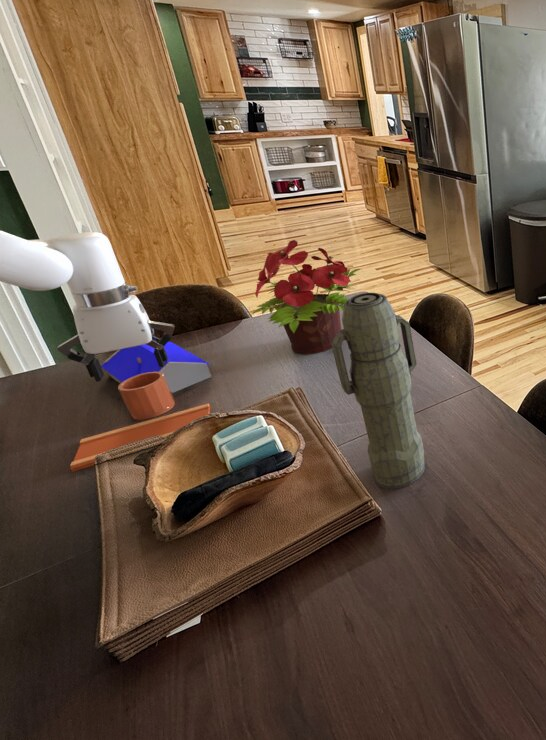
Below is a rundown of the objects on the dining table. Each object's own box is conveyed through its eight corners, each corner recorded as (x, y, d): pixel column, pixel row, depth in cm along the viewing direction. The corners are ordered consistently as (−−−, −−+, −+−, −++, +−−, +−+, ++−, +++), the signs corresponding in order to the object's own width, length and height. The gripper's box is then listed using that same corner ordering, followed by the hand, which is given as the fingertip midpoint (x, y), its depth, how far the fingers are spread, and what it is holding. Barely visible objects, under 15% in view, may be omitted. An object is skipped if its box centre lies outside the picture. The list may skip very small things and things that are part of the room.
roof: (105, 377, 115) (93, 351, 112) (174, 352, 126) (165, 327, 123) (143, 405, 105) (130, 377, 102) (215, 375, 116) (205, 349, 113)
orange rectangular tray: (71, 472, 87) (69, 467, 86) (84, 442, 94) (81, 437, 94) (209, 430, 97) (207, 425, 97) (210, 406, 105) (208, 402, 104)
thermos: (442, 463, 89) (415, 293, 76) (383, 503, 80) (341, 319, 67) (415, 443, 94) (385, 280, 80) (357, 478, 85) (312, 303, 72)
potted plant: (274, 331, 137) (244, 231, 126) (375, 315, 147) (356, 222, 136) (250, 385, 112) (210, 266, 101) (374, 362, 122) (351, 252, 111)
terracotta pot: (129, 424, 99) (115, 394, 96) (134, 407, 104) (121, 378, 101) (173, 411, 103) (161, 382, 100) (176, 396, 108) (164, 368, 105)
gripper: (162, 281, 100) (186, 352, 107) (43, 299, 91) (78, 375, 97) (158, 292, 95) (184, 366, 101) (31, 312, 85) (69, 393, 91)
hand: (132, 371), depth 99 cm, fingers open, 9 cm apart
